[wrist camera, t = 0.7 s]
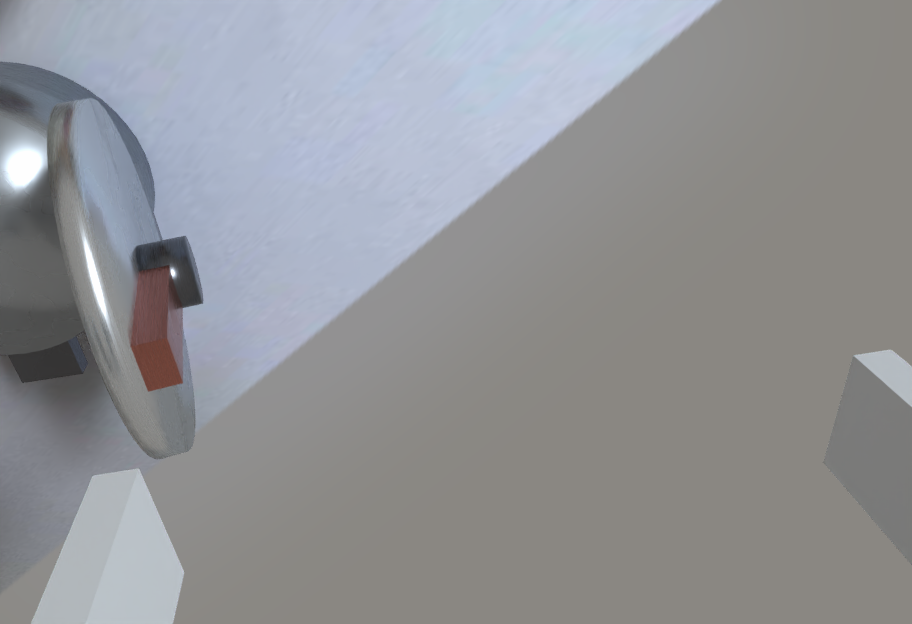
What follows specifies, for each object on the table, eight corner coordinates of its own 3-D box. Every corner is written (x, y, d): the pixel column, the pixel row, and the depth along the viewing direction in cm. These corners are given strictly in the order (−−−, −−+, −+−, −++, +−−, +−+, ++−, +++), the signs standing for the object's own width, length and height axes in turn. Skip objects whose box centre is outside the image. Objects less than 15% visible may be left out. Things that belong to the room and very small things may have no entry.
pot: (-19, 330, 43) (-83, 410, 36) (-179, 24, 34) (-306, 55, 27) (215, 297, 45) (195, 368, 38) (123, -6, 35) (75, 16, 28)
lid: (153, 542, 25) (248, 513, 26) (-13, 174, 18) (127, 150, 18) (161, 337, 37) (226, 322, 38) (64, 68, 30) (147, 57, 30)
